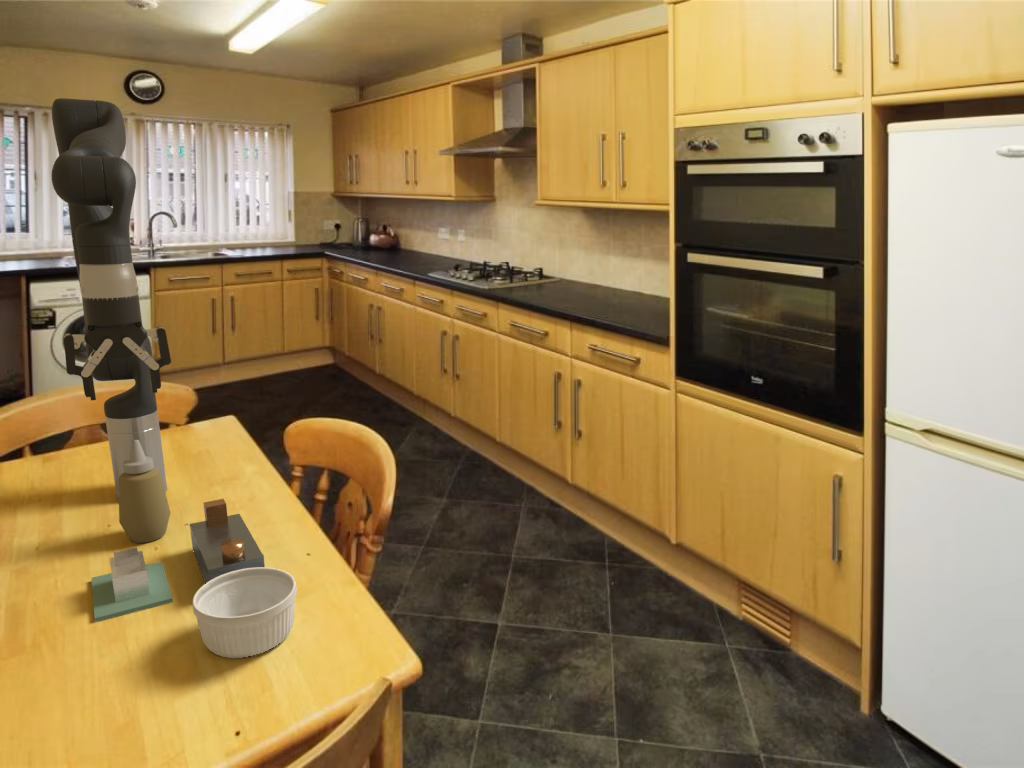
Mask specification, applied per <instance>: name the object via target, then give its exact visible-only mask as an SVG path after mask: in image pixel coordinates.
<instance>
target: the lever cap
mask: <svg viewBox="0 0 1024 768" xmlns="http://www.w3.org/2000/svg"><path fill="white" fill-rule="evenodd" d="M108 560H109V566H110V573H111V574H112V581H113V588H114V594H115V601H116V602H120V601H124V600H128V599H132V598H136V597H140V596H144V595H148V594H150V592H149V584H148V577H147V570H146V565H147V564H146V562H145V557H144V553H143V550H138V547H137V546H136V547H132V548H128V549H123V550H120V551H119V550H118V551H114V552H113V557H109V559H108Z"/></svg>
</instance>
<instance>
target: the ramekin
mask: <svg viewBox="0 0 1024 768" xmlns="http://www.w3.org/2000/svg"><path fill="white" fill-rule="evenodd" d="M297 594H298V589H297V583H296V579H295V578H294V576H293V575H292V574H291V573H289V572H287V571H285V570H283V569H278V568H274V567H266V566H265V567H256V568H246V569H240V570H236V571H232V572H229V573H226V574H223V575H221V576H218V577H216V578H214V579H212V580H210V581H209V582H207V583H206V584H205V583H204V584H203V585H202V586H201V587H200V588H199V589H198V590H197V591H196V592H195V593H194V596H193V597H192V612H193V614H194V616H195V617H196V619H197V624H198V628H199V632H200V635H201V639H202V641H203V644H204V646H206V648H207V649H208V650H210V651H211V652H212V653H214V654H215V655H217V656H219V657H223V658H226V657H227V658H228V659H244V658H243V657H246V658H249V657H248V656H251V657H254V656H253V655H255V656H257V655H256V654H259V655H261V654H260V653H262V652H265V651H267V650H269V649H271V648H273V647H274V648H276V647H277V646H279V645H280V644H281V643H282V642H284V640H285V639H286V637H288V636H289V634H290V633H291V631H292V629H293V626H294V622H295V607H296V606H295V604H296V597H297ZM279 643H280V644H279ZM278 644H279V645H278ZM276 645H277V646H276ZM275 646H276V647H275ZM274 648H273V649H274ZM271 650H272V649H271ZM269 651H270V650H269ZM267 652H268V651H267ZM265 653H266V652H265ZM262 654H263V653H262Z"/></svg>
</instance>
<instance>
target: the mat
mask: <svg viewBox="0 0 1024 768" xmlns="http://www.w3.org/2000/svg"><path fill="white" fill-rule="evenodd" d="M145 565H146V570H147V577H148V584H149V592H150V594H148V595H144V596H140V597H136V598H132V599H128V600H124V601H120V602H116V601H115V594H114V588H113V581H112V574H111V572H110V573H106V574H100V575H98V576H93V577H91V590H92V591H91V592H92V600H93V601H92V602H93V613H94V614H93V615H94V622H95V623H96V622H101V621H105V620H108V619H112V618H117V617H119V616H123V615H128V614H131V613H135V612H139V611H143V610H147V609H150V608H154V607H158V606H162V605H165V604H168V603H169V604H170V603H172V602H173V596H172V592H171V588H170V585H169V581H168V579H167V574H166V572H165V566H164V564H163V561H162V560H161V561H157V562H153V563H149V564H145ZM173 603H174V602H173ZM146 608H147V609H146Z"/></svg>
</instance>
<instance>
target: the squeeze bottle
mask: <svg viewBox="0 0 1024 768" xmlns="http://www.w3.org/2000/svg"><path fill="white" fill-rule="evenodd" d="M153 467H154V465H153V459H152V458H151V457H148V456H145V454H144V452H143V449H142V447H141V444H140V442H139V440H132V441H131V448H130V456H129V459H127V460H125V461H124V462H123V470H124V473H122V474H121V475H120V477H119V478H118V482H119V499H118V515H119V516H118V518H119V519H118V522H119V524H120V526H121V528H122V529H123V530H124V533H125V534H126V536H127V538H128V540H129V542H132V543H138V544H142V543H149V542H153V541H156V540H159V539H160V538H162V537H164V536H166V532H167V529H168V524H169V522H170V521H169V520H170V517H171V509H170V505H169V502H168V498H167V493H166V491H165V489H164V485H163V481H162V477H161V473H160V471H159V470H158V469H156V468H153Z"/></svg>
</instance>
